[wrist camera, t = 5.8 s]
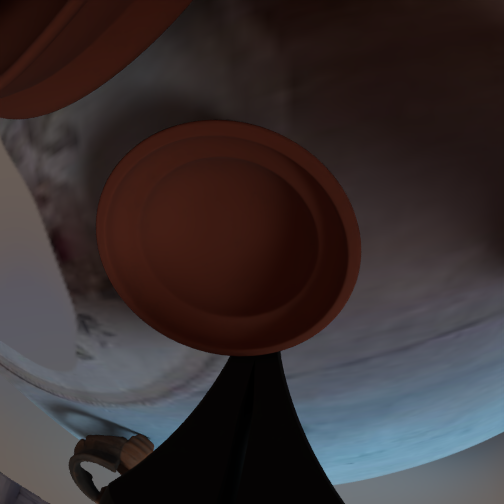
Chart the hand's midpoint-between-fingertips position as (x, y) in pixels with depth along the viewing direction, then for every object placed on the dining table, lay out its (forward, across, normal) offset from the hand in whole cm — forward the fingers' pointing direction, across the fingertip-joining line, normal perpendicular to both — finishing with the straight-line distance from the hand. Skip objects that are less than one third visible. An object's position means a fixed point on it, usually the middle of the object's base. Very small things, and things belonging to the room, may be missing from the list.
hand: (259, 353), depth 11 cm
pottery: (+2, +4, -11) cm, 11 cm away
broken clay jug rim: (+2, +11, +18) cm, 22 cm away
